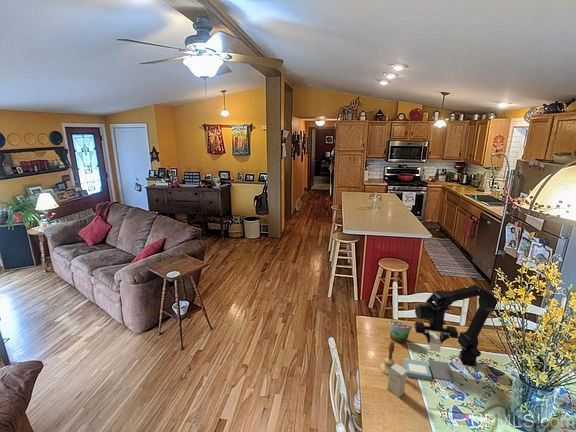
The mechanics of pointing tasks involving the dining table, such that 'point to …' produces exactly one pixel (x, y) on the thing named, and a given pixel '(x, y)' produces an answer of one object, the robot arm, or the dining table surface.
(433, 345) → the stub
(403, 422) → the dining table surface
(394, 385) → the skincare box
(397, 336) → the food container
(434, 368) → the mat
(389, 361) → the hand bell
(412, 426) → the dining table surface
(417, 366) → the ticket book
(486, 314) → the robot arm
